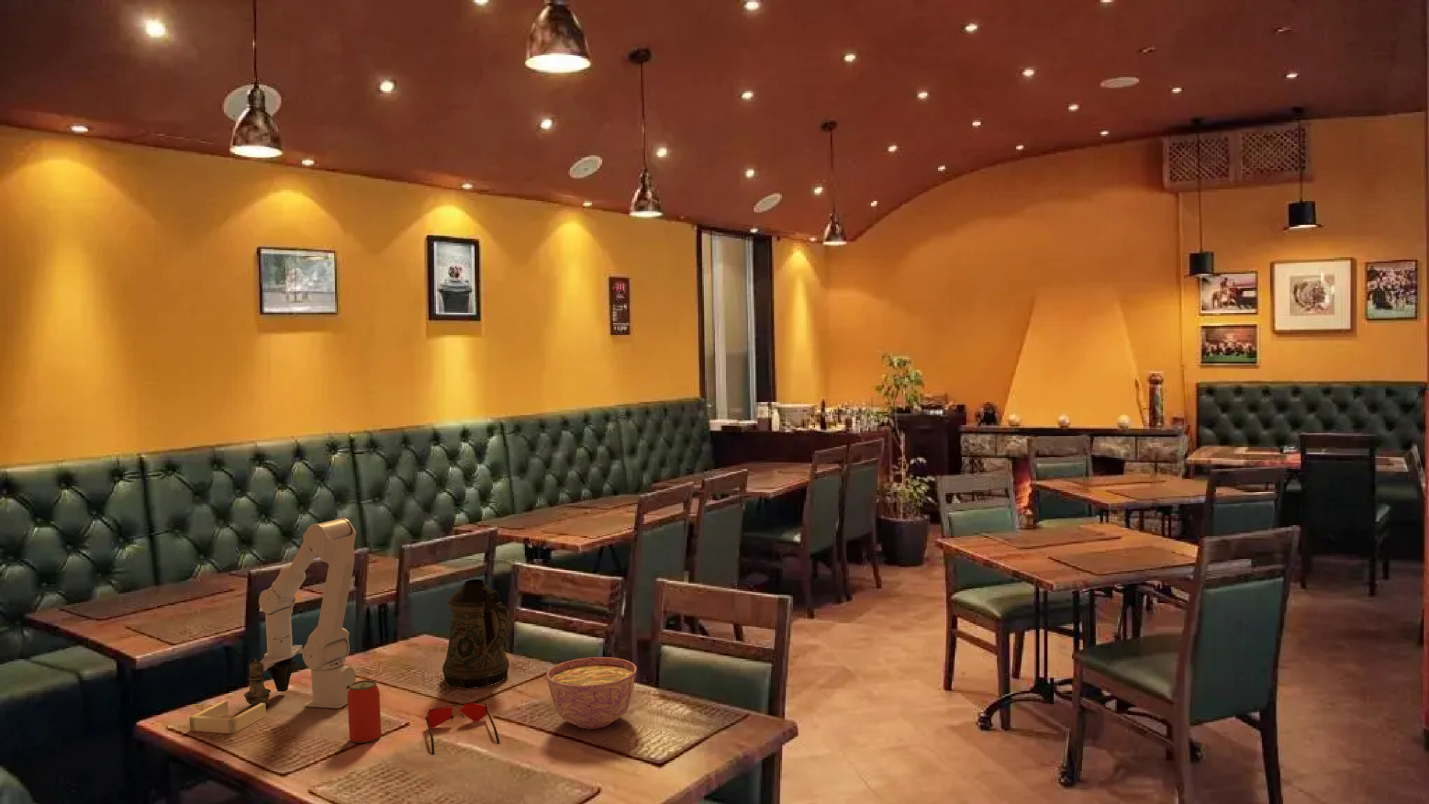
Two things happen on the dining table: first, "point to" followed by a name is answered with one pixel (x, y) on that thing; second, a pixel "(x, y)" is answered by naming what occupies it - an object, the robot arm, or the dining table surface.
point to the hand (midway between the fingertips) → (282, 690)
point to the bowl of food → (592, 690)
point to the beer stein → (476, 637)
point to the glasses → (444, 714)
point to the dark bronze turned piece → (257, 686)
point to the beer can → (364, 711)
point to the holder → (215, 722)
